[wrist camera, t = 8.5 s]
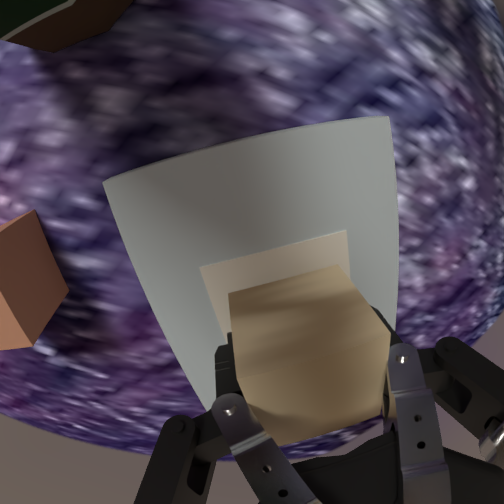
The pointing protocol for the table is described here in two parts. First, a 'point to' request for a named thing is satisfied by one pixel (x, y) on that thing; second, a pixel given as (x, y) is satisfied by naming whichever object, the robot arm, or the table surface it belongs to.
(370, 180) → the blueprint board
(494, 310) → the table surface
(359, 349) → the maple block
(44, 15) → the beer bottle
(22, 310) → the terracotta block
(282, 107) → the table surface
